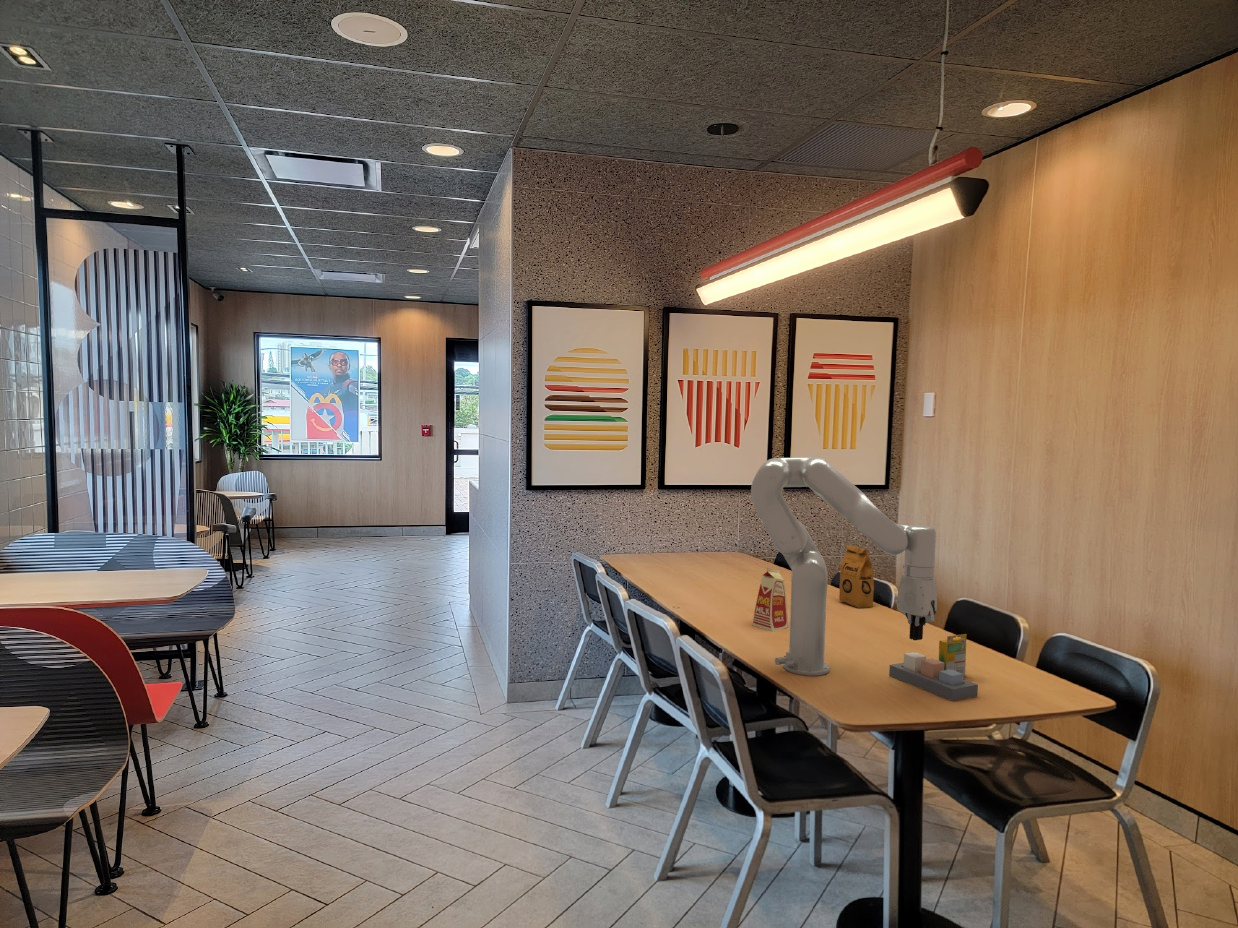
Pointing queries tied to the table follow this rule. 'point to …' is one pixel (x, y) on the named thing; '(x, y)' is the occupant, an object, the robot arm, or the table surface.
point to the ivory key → (913, 661)
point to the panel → (934, 683)
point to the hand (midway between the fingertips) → (915, 638)
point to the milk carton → (771, 603)
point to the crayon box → (953, 653)
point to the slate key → (951, 677)
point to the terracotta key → (931, 667)
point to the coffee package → (856, 578)
